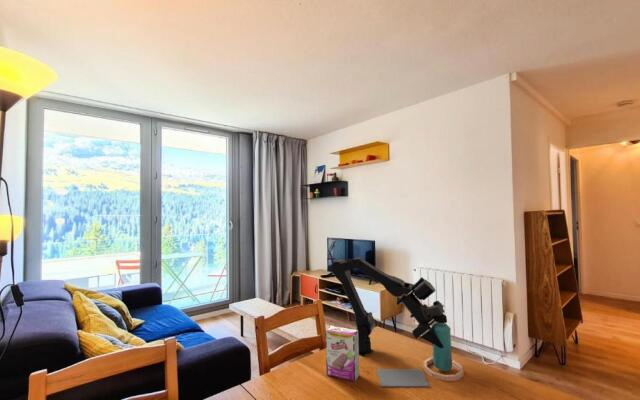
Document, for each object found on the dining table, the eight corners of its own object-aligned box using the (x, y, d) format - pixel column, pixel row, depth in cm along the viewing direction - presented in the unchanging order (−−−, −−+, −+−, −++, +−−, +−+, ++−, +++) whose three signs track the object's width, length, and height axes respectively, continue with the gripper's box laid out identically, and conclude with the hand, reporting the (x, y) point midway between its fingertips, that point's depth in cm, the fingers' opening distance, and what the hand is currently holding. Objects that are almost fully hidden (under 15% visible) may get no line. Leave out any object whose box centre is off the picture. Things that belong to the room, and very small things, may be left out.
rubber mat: (381, 387, 100) (381, 385, 100) (376, 370, 110) (376, 369, 110) (429, 387, 100) (429, 385, 100) (420, 370, 110) (420, 369, 110)
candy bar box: (325, 375, 108) (324, 330, 108) (331, 368, 113) (330, 324, 113) (355, 382, 103) (354, 334, 104) (360, 375, 108) (358, 329, 108)
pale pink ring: (416, 369, 110) (416, 365, 110) (437, 357, 119) (436, 353, 119) (449, 385, 100) (449, 381, 100) (469, 371, 108) (469, 367, 108)
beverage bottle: (454, 376, 106) (452, 319, 106) (434, 374, 107) (433, 318, 107) (450, 366, 112) (448, 312, 112) (431, 364, 113) (430, 311, 114)
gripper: (419, 302, 105) (453, 342, 98) (438, 289, 119) (469, 324, 112) (399, 319, 110) (430, 359, 103) (419, 305, 124) (448, 339, 117)
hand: (445, 344), depth 109 cm, fingers closed on beverage bottle, 6 cm apart
